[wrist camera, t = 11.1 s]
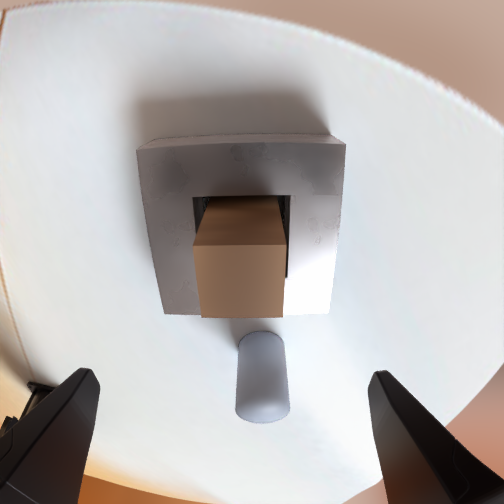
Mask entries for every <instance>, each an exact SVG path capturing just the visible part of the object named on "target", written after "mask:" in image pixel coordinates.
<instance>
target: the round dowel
mask: <svg viewBox="0 0 504 504" xmlns="http://www.w3.org/2000/svg"><path fill="white" fill-rule="evenodd" d="M235 411H236V414H237V415H238V416H239V417H240V418H242V419H243V420H246V421H248V422H252V423H271V422H275V421H278V420H281V419H283V418H284V417H286V416H287V415H288V413H289V411H290V402H289V391H288V379H287V369H286V358H285V348H284V342H283V340H282V339H281V338H280V337H279V336H277V335H276V334H274V333H271V332H265V331H258V332H253V333H250V334H248V335H246V336H245V337H244V338H242V340H241V341H240V343H239V349H238V368H237V388H236V408H235Z"/></svg>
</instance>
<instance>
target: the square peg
mask: <svg viewBox="0 0 504 504" xmlns="http://www.w3.org/2000/svg"><path fill="white" fill-rule="evenodd" d="M193 255H194V264H195V272H196V280H197V288H198V295H199V303H200V310H201V317H202V318H275V317H283V306H284V288H285V268H286V240H285V234H284V229H283V224H282V219H281V214H280V209H279V204H278V199H277V195H242V196H211V197H210V199H209V202H208V205H207V207H206V210H205V213H204V215H203V218H202V221H201V223H200V226H199V229H198V232H197V234H196V237H195V240H194V243H193Z"/></svg>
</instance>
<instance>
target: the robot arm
mask: <svg viewBox="0 0 504 504" xmlns="http://www.w3.org/2000/svg"><path fill="white" fill-rule="evenodd" d="M27 386H28V388H29V389H30V390H31V392H32V395H31V397H30V399H29V401H28V403H27V405H26V407H25V409H24V411H23V413H22V415H21V417H20V419H19V420H17V418H16V417H14V416H13V418H11V417H8V416H6V418H5V420H4V422H3V424H2V426H1V429H0V504H78V498H79V493H80V487H81V483H82V478H83V473H84V469H85V464H86V460H87V456H88V451H89V447H90V443H91V439H92V435H93V431H94V426H95V420H96V413H97V407H98V401H99V395H100V384H99V382H98V380H97V378H96V376H95V374H94V373H93V371H92V370H91V369H89V368H79V369H78V370H76V371H75V372H74V373H73V374H72V375H71V376H69V377H68V378H67V379H66V380H65V381H64V382H63V383H61V384H60V385H59V386H58V387H57V388H52V387H48V386H44V385H40V384H36V383H32V382H28V383H27ZM368 398H369V406H370V413H371V421H372V429H373V436H374V440H375V444H376V449H377V453H378V457H379V462H380V466H381V471H382V475H383V480H384V484H385V489H386V494H387V499H388V504H504V479H502V478H501V477H500V476H498V475H497V474H496V473H495V472H493V471H492V470H491V469H490V468H488V467H487V466H486V465H484V464H483V463H482V462H481V461H480V460H478V459H477V458H476V457H475V456H474V455H472V454H471V453H470V452H469V451H468V450H467V449H466V448H465V447H464V446H463V445H462V444H461V443H460V442H459V441H458V440H457V439H456V440H455V437H454V436H453V435H452V434H451V433H450V432H449V431H448V430H447V429H446V428H445V427H444V426H443V425H442V424H441V423H440V422H439V421H438V420H437V419H436V418H435V417H434V416H433V415H432V414H431V413H430V412H429V411H428V410H427V409H426V408H425V407H424V406H423V405H422V404H421V403H420V402H419V401H418V400H417V399H416V398H415V397H414V396H413V395H412V394H411V393H410V392H409V391H408V390H407V389H406V388H405V387H404V386H403V385H402V384H401V383H400V382H399V381H398V380H397V379H396V378H395V377H394V376H393V375H392V374H391V373H390V372H388V371H387V370H382V371H376V372H374V374H373V376H372V379H371V381H370V384H369V386H368Z"/></svg>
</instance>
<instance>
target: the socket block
mask: <svg viewBox="0 0 504 504" xmlns="http://www.w3.org/2000/svg"><path fill="white" fill-rule="evenodd" d="M345 151H346V144H345V143H343V142H342V141H340V140H339V139H337V138H335V137H334V136H332V135H318V134H228V135H206V136H190V137H177V138H165V139H155V140H152V141H151V142H149V143H147V144H145V145H144V146H142V147H140V148H138V149H137V150H136V152H137V160H138V169H139V177H140V184H141V191H142V198H143V205H144V211H145V218H146V224H147V230H148V236H149V241H150V247H151V252H152V258H153V263H154V268H155V273H156V278H157V283H158V287H159V292H160V297H161V301H162V306H163V310H164V314H180V315H201V310H200V303H199V295H198V288H197V280H196V272H195V264H194V255H193V243H194V240H195V237H196V234H197V232H198V229H199V226H200V223H201V221H202V218H203V215H204V207H203V197H206V196H242V195H285V210H284V234H285V240H286V268H285V288H284V306H283V314H311V313H328V310H329V304H330V297H331V290H332V283H333V276H334V268H335V260H336V252H337V244H338V235H339V225H340V216H341V205H342V194H343V181H344V167H345Z"/></svg>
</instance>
